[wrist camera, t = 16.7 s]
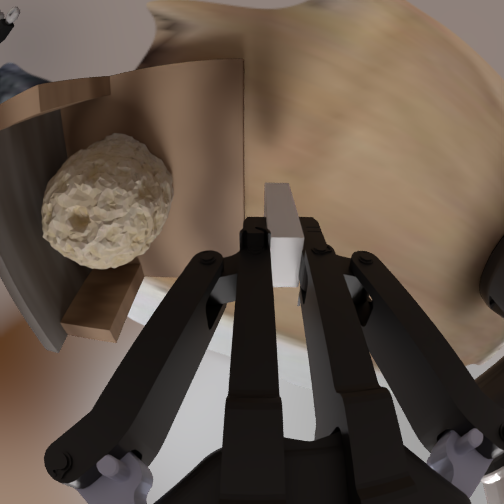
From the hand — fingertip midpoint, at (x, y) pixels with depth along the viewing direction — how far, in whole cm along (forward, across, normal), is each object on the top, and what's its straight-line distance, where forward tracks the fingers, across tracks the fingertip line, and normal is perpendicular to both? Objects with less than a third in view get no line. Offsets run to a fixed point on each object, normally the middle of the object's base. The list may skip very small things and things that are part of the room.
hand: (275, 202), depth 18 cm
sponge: (+3, +12, 0) cm, 12 cm away
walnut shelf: (+5, +10, 0) cm, 11 cm away
